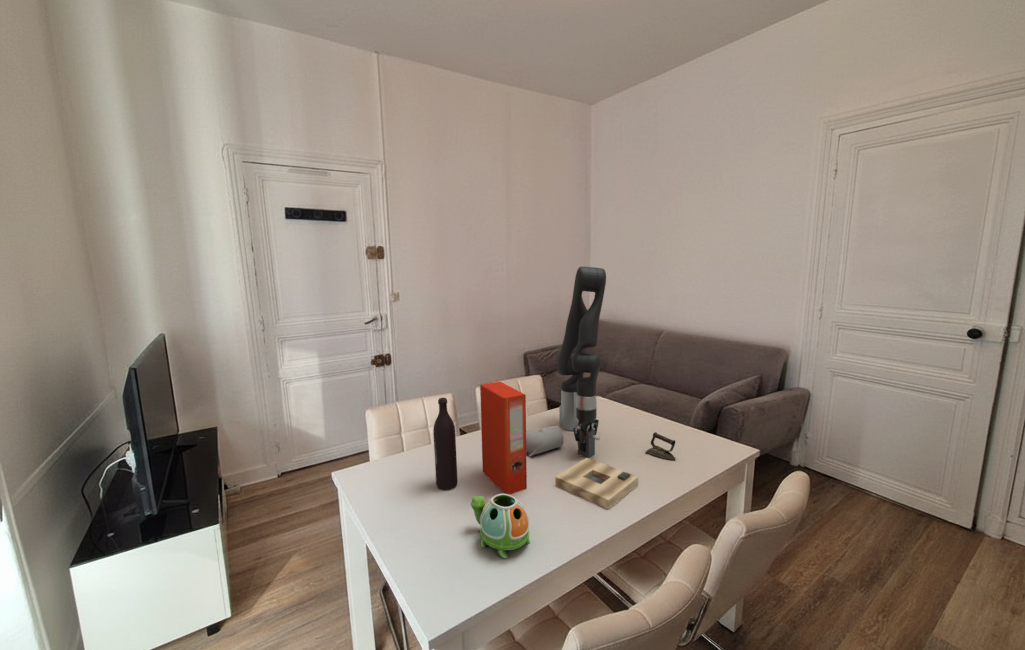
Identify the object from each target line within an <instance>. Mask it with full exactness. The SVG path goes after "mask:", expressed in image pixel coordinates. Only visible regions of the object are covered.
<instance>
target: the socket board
mask: <svg viewBox="0 0 1025 650" xmlns="http://www.w3.org/2000/svg"><path fill="white" fill-rule="evenodd" d="M554 480H555V486H556V487H558V488H559V489H560V488H561V489H563V490H565V491H567V492H569V493H571V494H573V495H576V496H578V497H580V498H582V499H585V500H587V501H589V502H591V503H593V504H596V505H598V506H600V507H603V508H605V509H606V510H610V509H611V508H612V507H613V506H615V505H616V504H617V503H619V502H620V501H621V500H622V499H624V497H626V496H627V495H629V493H631V492H632V491H633V490H634V489H635V488H637V487H638V486H639V476H637V475H635V474H632V473H630V472H627V471H624V470H621V469H619V468H616V467H613V466H610V465H608V464H605V463H603V462H600V461H596V460H594V459H593V458H586V457H584V458H583V460H580V461H578V462H577V463H576V464H574V465H573V466H571V467H569V468H567V469H566V470H564V471H563V472H561V473H560V474H558V475H556V476H555V479H554Z"/></svg>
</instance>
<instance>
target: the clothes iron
mask: <svg viewBox="0 0 1025 650" xmlns="http://www.w3.org/2000/svg"><path fill="white" fill-rule="evenodd" d="M655 439H658V440H661V441H663V442H665V443H667V444H669V445H671V446H670V449H669V450H668V449H665V448H664V447H661V446H659V445H656V444H655V443H654V442H655ZM650 440H651V441H650V445H651V446H652V447H650V448H648V449H647V450H646V451H645V454H647V455H649V456H651V457H652V458H653V457H654V458H656V459H660V460H665V461H670V462H676V457H675V456H674V455H673V454H672V453H671V452H673V450H674V447H675V445H676V440H674V439H671V438H668V437H666V436H664V435H661V434H659V433H658V432H656V431H654V432H653V433H652V439H650Z"/></svg>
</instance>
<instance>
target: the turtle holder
mask: <svg viewBox="0 0 1025 650" xmlns="http://www.w3.org/2000/svg"><path fill="white" fill-rule="evenodd" d="M470 506H471V509H472V510H473V512H474V516H475V520H476V521H477V523H478V524H479V525H480V530H479V535H480V538H481V542H480V546H481V548H483V549H485V548H486V547H487V546H489V547H490V548H493V549H496V550H497V553H498V555H499V557H500V558H501V559H507V558H508V554H507V552H506V551H513V550H518V549H519V548H521V547H522V546H524V545H526V544H530V543H531V541H530V539H529V538H530V530H529V529H530V519H529V515H528V512H527V510H526V508H525V506H524V505H523V504H522V503H521V502H520V501H519V500H518V499H517V498H516V497H514V496H513V495H512V494H509V495H508V494H504V493H497V494H496V495H493V496H492V497H491V498H490V500H489V501H487V503H486V502H485V497H484V496H483V495H479V496H478V495H474V496H473V497H472V499H471V502H470Z"/></svg>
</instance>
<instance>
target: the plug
mask: <svg viewBox="0 0 1025 650" xmlns="http://www.w3.org/2000/svg"><path fill="white" fill-rule="evenodd" d="M581 433H582V434H585V433H583V432H581ZM582 439H583V436H582ZM596 441H600V436H597V435H595V429H593V430H589V431H588V432H587V437H586V451H585V452H582V451H580V442H577V455H578V456H581V457H584V458H589V459H591V458H592V457H594V456H595V454H596V451H595V450H596Z"/></svg>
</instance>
